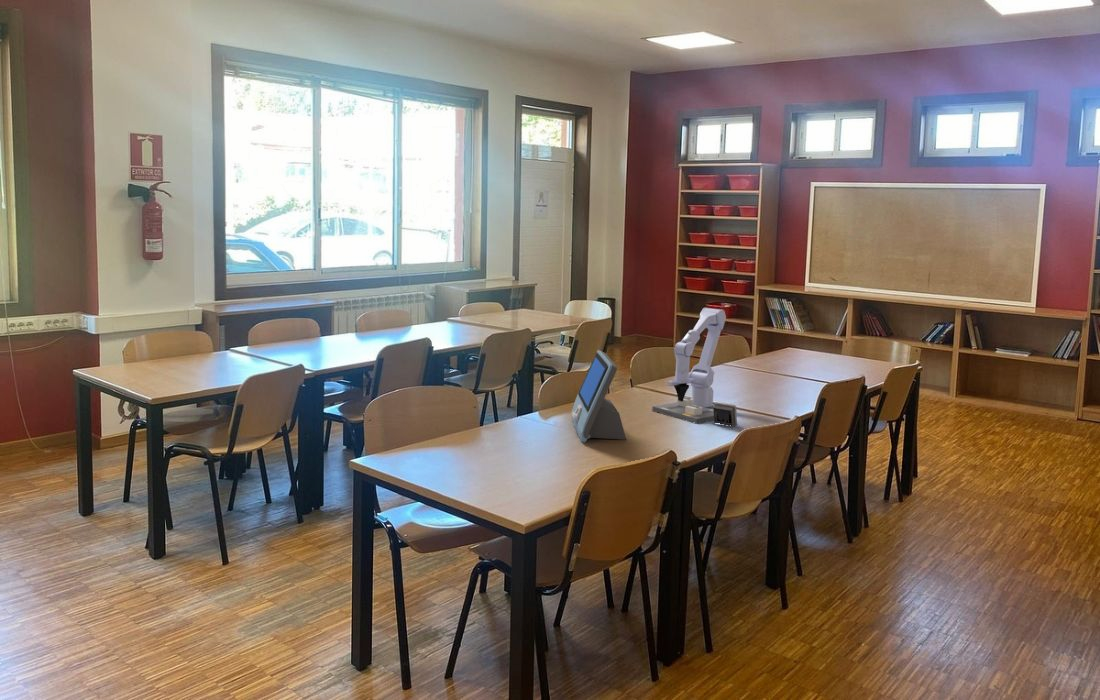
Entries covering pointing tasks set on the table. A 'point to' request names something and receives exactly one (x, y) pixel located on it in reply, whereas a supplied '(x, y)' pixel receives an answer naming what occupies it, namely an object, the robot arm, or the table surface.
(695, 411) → the slider
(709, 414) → the switch panel
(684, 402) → the slider
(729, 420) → the electrical switch
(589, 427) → the touchscreen device
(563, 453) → the table surface
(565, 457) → the table surface
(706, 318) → the robot arm
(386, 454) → the table surface
